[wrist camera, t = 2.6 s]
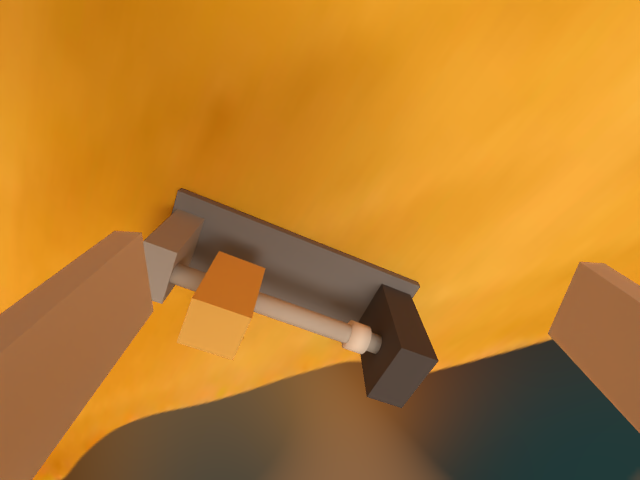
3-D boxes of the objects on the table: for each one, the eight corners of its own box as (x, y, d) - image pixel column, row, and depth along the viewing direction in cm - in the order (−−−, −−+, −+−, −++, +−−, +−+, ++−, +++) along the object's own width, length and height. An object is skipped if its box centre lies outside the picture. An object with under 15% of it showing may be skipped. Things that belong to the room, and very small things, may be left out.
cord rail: (160, 261, 41) (104, 326, 31) (181, 187, 38) (125, 232, 27) (379, 339, 47) (398, 418, 36) (417, 282, 43) (451, 351, 32)
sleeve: (205, 289, 37) (176, 342, 29) (219, 250, 35) (191, 297, 27) (249, 304, 38) (232, 360, 30) (265, 268, 36) (251, 318, 28)
